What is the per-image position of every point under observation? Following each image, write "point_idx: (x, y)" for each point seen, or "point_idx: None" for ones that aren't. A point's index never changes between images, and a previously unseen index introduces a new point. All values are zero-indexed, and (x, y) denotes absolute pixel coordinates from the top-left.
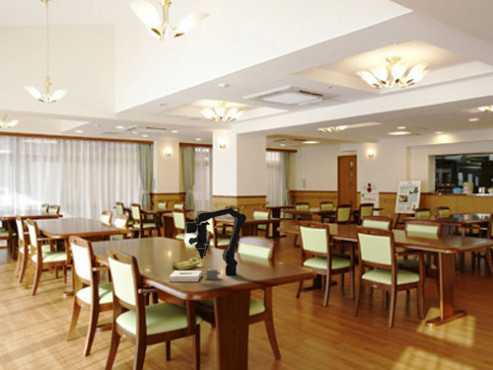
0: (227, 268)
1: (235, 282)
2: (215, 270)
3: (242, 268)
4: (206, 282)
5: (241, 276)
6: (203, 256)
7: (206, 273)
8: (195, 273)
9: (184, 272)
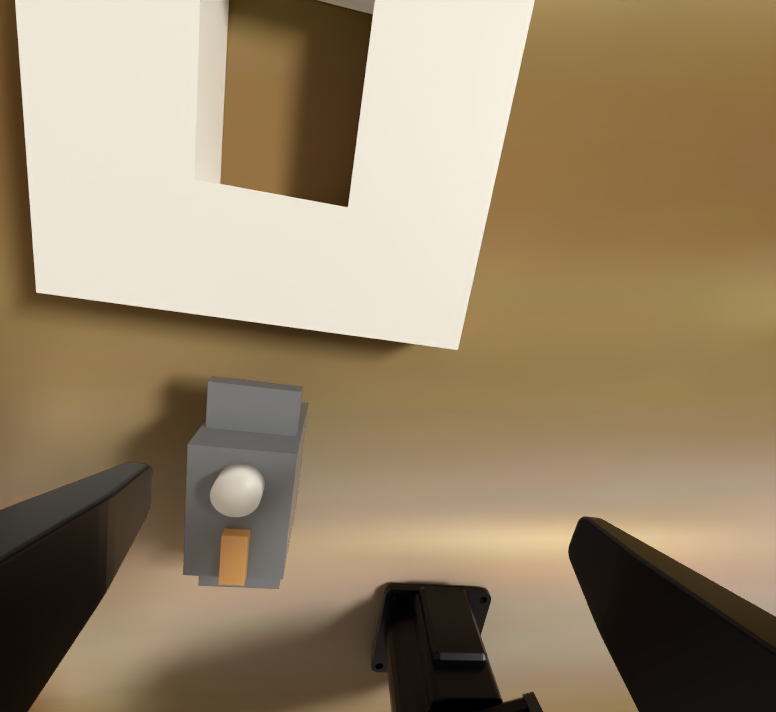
0: (421, 662)
1: None
2: (221, 559)
3: None
4: (35, 391)
5: (325, 699)
6: (85, 603)
7: (206, 422)
8: (264, 254)
9: (371, 49)
